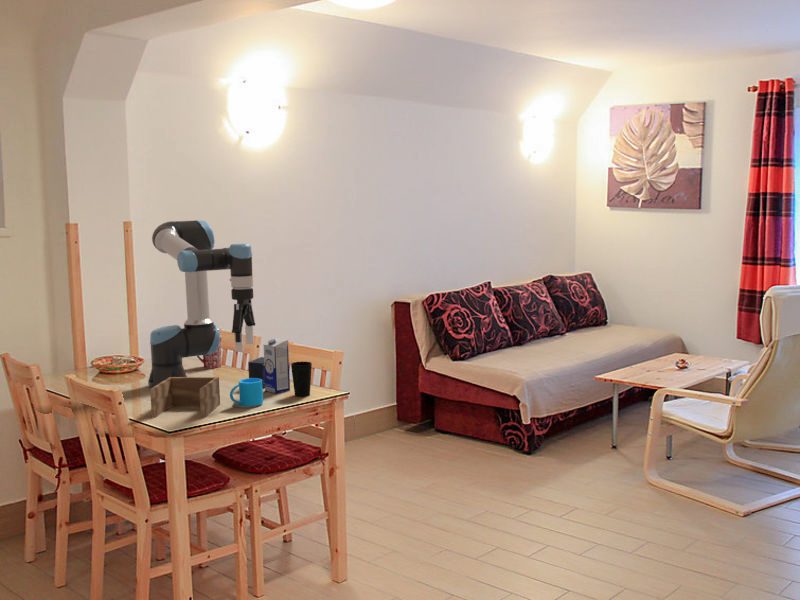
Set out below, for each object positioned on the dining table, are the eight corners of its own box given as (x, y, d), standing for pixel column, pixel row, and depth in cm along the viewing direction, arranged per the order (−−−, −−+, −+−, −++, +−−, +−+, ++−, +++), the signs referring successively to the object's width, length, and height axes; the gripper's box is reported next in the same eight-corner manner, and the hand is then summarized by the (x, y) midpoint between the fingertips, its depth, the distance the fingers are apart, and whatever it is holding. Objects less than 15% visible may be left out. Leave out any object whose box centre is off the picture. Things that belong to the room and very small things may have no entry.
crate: (171, 404, 289) (169, 377, 287) (220, 404, 287) (218, 377, 286) (151, 418, 271) (150, 389, 270) (203, 418, 269) (202, 389, 268)
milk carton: (290, 390, 306) (288, 338, 304) (275, 393, 302) (273, 341, 299) (279, 387, 312) (277, 336, 309) (265, 390, 307) (262, 339, 304)
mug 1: (220, 363, 359) (218, 334, 358) (225, 367, 351) (224, 337, 350) (191, 367, 354) (190, 336, 352) (196, 370, 346) (195, 339, 344)
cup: (309, 391, 304) (308, 360, 302) (315, 396, 297) (314, 364, 295) (289, 394, 301) (288, 362, 300) (294, 398, 294) (293, 366, 292)
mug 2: (257, 399, 292) (256, 377, 291) (266, 403, 285) (265, 381, 284) (226, 404, 285) (225, 381, 284) (234, 409, 278) (233, 385, 277)
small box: (263, 389, 309) (262, 362, 308) (248, 388, 311) (247, 361, 310) (276, 383, 319) (275, 357, 318) (261, 382, 321) (260, 356, 320)
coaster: (237, 401, 292) (237, 399, 292) (264, 401, 291) (264, 399, 291) (229, 408, 282) (229, 406, 282) (257, 408, 281) (257, 406, 281)
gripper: (241, 284, 294) (243, 341, 297) (220, 292, 269) (223, 354, 272) (261, 283, 293) (263, 341, 296) (242, 292, 269) (245, 354, 271)
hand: (244, 347), depth 284 cm, fingers open, 13 cm apart
